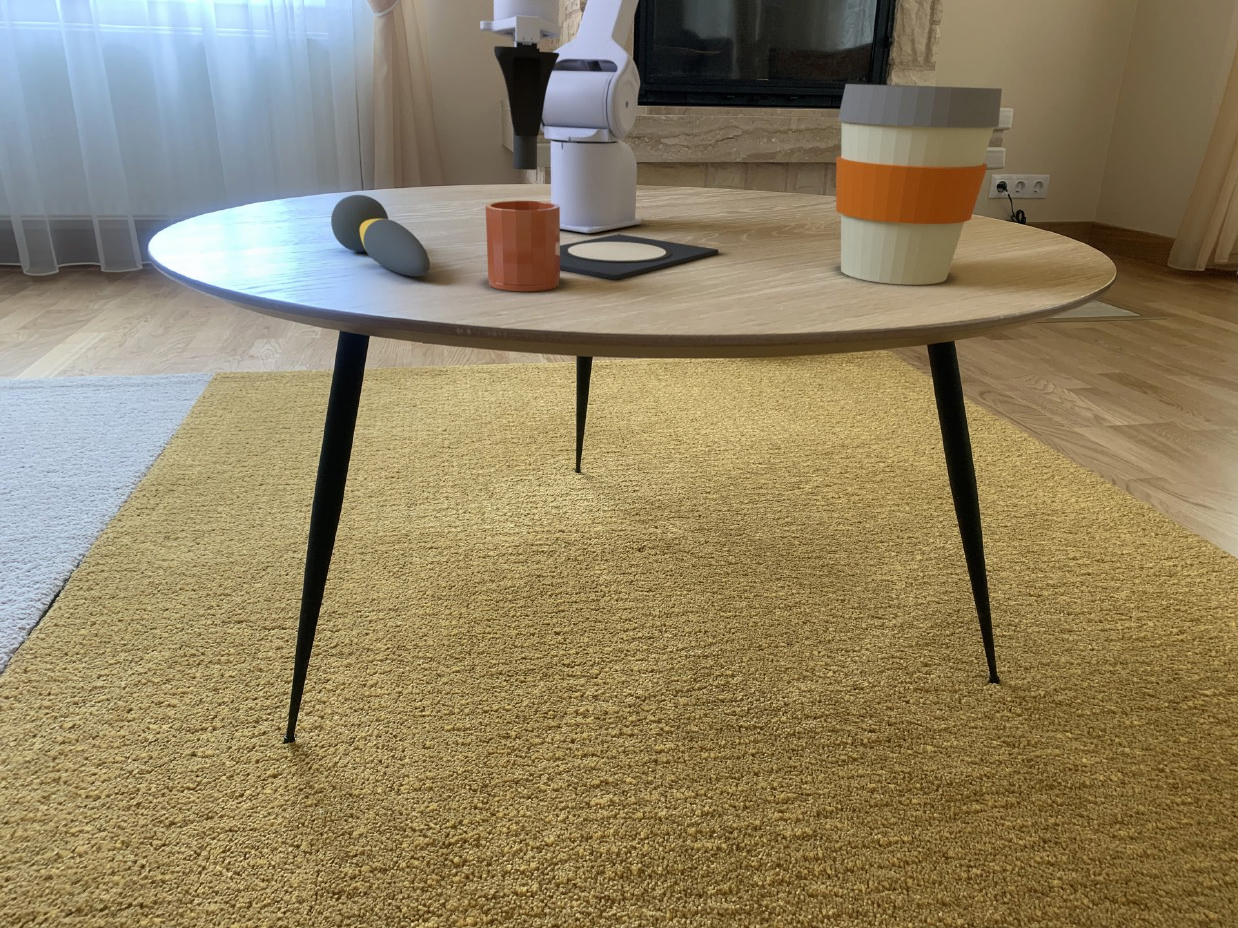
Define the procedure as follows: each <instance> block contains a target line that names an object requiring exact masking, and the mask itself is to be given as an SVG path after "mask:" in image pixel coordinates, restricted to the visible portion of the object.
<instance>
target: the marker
mask: <svg viewBox="0 0 1238 928" xmlns="http://www.w3.org/2000/svg"><path fill="white" fill-rule="evenodd" d="M512 142H513V143H512V145H513V146H512V147H513V148H512V149H513V150H512V153H513V154H512V163H513V164H512V168H513V169H514V170H522V171H523V170H524V171H536V170H537V169H538V136H516V135H515V133H514V129H513V128H512Z"/></svg>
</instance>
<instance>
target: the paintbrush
mask: <svg viewBox="0 0 1238 928" xmlns="http://www.w3.org/2000/svg"><path fill="white" fill-rule="evenodd" d="M330 219H331V220H330V223H331V230H332V233H333V235H334V237H335V239H336V241H337V242H338V243H339V244H340V245H341V246H343V247H344V248H345V249H347V250H349V251H352V252H355V253H366V254H367V255H368V256H369V257H370V258H371V259H372V260H373V261H375V263H377V264H379V265H380V266H382V267H384V268H385V269H387V270H390V271H392V272H395V273H397V274H400V275H404V276H409V277H422V276H424V275H426V274H427V273H429V271H430V269H431V261H430V257H429V254H428V253H427V251H426V248H425V247H424V245H423V244H422V243H421V241H420V240H419V239H418V238H417V237H416V236H415V235H414V233H412V232H411V231H410V230H408V228H406V227H405V226H403V225H402V224H400V223H398V222H396V221H394V220H392V219H390V218H389V216H388V213H387V210H386V209H385V208H384V206H383V204H382V203H380V201H378V200H376V199H375V198H373V197H371V196H367V195H364V194H353V195H348V196H346V197H343V198H342V199H341V200H339V201H338V202H337V203H336V205H335V206H334V208H333V210H332V213H331V218H330Z"/></svg>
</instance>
